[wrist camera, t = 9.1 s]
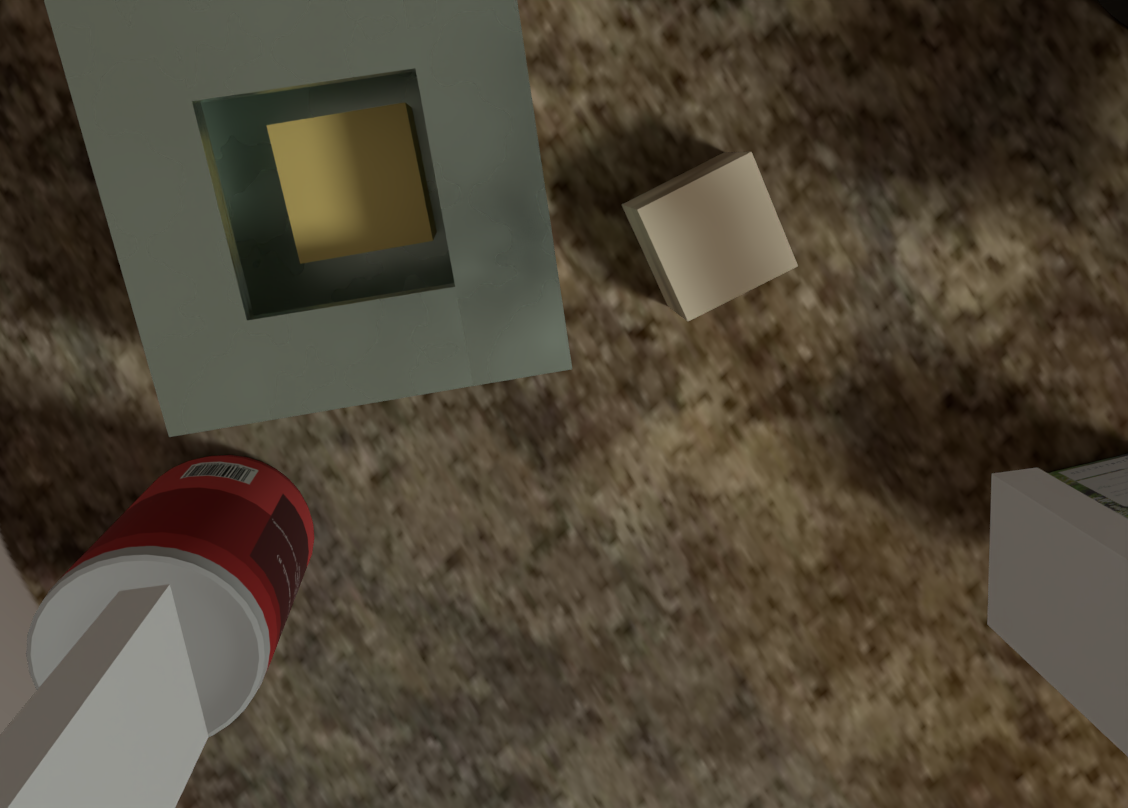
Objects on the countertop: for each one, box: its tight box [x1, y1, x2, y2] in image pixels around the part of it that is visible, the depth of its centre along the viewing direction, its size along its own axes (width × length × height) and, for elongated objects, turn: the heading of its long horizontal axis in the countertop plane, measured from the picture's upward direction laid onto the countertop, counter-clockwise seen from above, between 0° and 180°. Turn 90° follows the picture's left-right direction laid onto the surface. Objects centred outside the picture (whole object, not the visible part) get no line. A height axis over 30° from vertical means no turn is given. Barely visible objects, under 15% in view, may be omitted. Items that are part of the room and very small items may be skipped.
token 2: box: [622, 152, 798, 321], centre depth 38 cm, size 5×5×4 cm
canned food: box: [26, 455, 314, 737], centre depth 36 cm, size 8×8×11 cm
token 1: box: [266, 102, 437, 264], centre depth 35 cm, size 5×5×4 cm
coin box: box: [44, 0, 572, 437], centre depth 33 cm, size 14×14×9 cm
